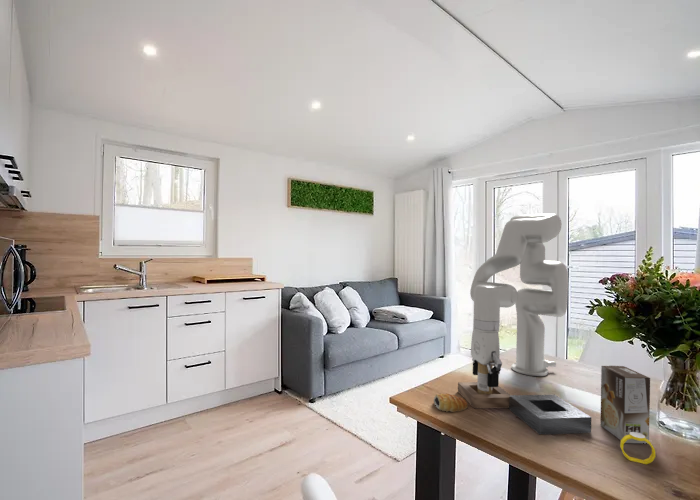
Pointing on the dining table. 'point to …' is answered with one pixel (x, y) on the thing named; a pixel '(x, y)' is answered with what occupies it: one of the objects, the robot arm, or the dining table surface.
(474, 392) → the holder ring
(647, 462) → the watch
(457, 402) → the pastry
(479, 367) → the sprinkles bottle
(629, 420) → the coffee box
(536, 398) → the block
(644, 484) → the dining table surface
